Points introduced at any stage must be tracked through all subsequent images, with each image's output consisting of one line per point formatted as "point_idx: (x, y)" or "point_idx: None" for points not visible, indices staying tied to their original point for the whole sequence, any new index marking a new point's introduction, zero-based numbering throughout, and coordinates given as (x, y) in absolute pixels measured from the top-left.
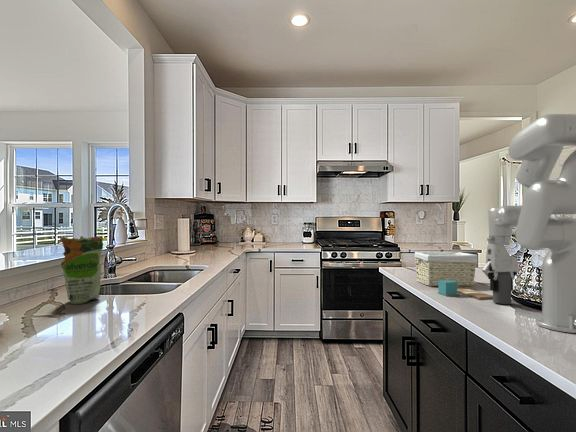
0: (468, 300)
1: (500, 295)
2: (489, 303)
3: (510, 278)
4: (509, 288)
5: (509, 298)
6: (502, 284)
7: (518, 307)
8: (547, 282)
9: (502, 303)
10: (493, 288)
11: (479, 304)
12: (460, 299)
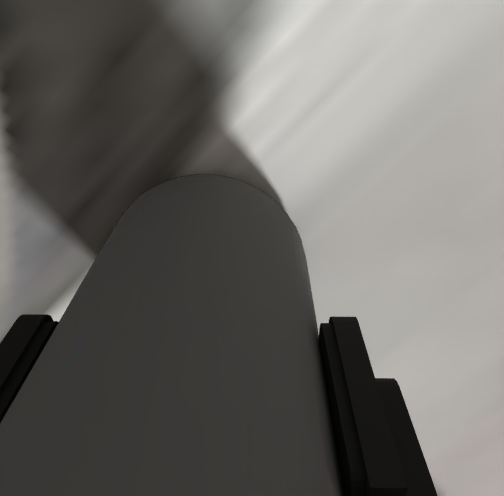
0: (437, 416)
1: (290, 264)
2: (341, 289)
3: (9, 483)
4: (139, 287)
5: (173, 203)
6: (279, 371)
7: (150, 51)
8: None
9: (270, 198)
10: (384, 378)
11: (488, 276)
12: (473, 453)
